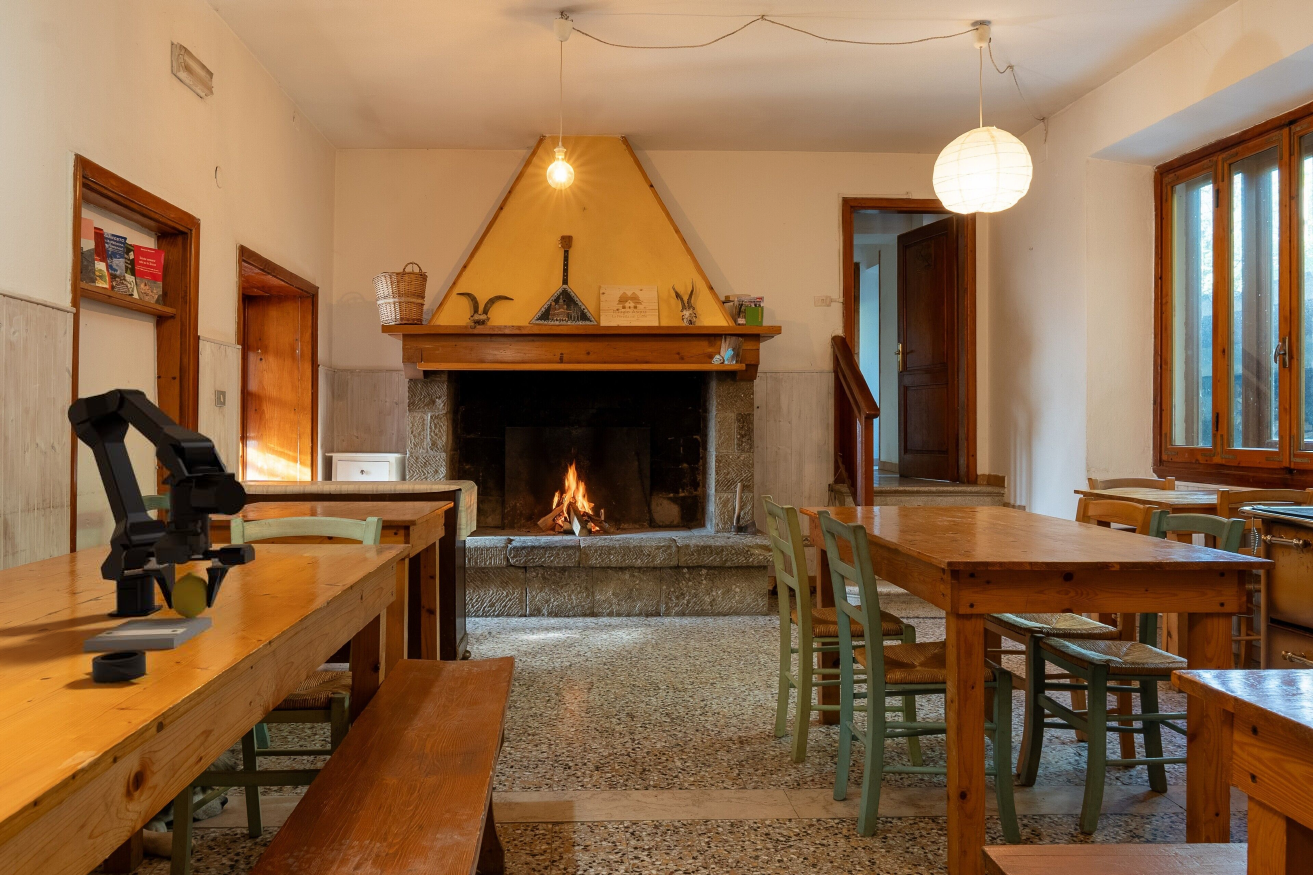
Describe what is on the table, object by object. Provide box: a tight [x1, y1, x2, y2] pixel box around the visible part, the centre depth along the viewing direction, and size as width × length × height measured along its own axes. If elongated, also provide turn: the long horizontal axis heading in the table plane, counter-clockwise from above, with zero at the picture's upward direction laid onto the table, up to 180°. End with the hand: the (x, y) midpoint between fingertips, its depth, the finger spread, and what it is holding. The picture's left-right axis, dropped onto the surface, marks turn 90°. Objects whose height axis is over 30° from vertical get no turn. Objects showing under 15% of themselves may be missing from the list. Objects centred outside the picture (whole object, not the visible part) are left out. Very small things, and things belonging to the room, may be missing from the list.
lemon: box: [171, 571, 208, 618], centre depth 143 cm, size 6×6×8 cm
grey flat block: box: [83, 616, 212, 653], centre depth 131 cm, size 14×12×2 cm
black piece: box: [91, 650, 149, 684], centre depth 111 cm, size 8×10×3 cm
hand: (190, 608), depth 143 cm, fingers open, 6 cm apart
